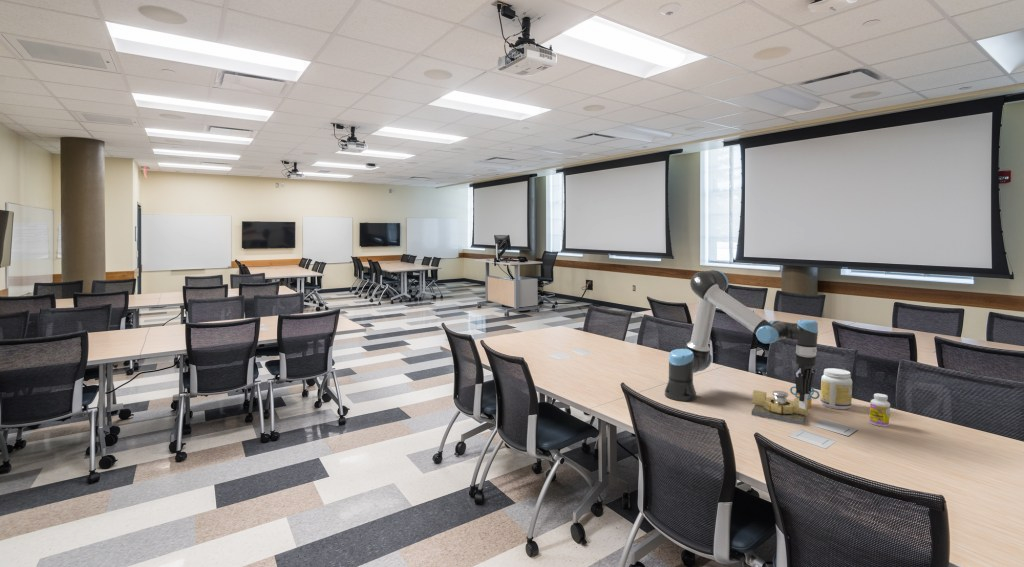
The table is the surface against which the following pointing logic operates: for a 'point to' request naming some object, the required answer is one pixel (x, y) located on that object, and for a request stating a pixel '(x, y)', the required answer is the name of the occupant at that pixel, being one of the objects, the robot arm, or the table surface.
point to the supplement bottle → (879, 410)
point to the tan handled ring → (769, 404)
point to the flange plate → (791, 418)
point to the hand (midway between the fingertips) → (802, 408)
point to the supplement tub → (836, 388)
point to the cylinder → (809, 397)
